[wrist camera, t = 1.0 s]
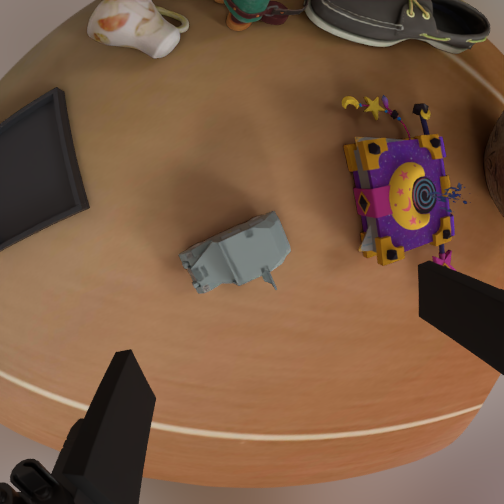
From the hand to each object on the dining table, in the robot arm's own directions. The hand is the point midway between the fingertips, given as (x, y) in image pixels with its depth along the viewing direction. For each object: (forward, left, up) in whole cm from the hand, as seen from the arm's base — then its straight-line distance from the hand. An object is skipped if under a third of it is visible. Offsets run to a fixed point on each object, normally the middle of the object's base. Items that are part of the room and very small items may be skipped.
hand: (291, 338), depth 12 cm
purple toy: (0, +19, -19) cm, 27 cm away
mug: (-26, -4, -19) cm, 33 cm away
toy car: (+1, -1, -19) cm, 19 cm away
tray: (-16, -22, -19) cm, 33 cm away
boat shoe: (-24, +29, -19) cm, 42 cm away
